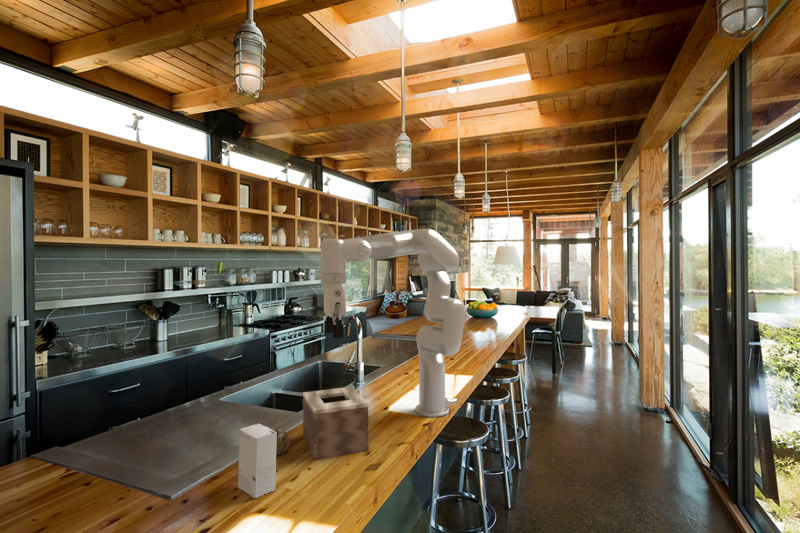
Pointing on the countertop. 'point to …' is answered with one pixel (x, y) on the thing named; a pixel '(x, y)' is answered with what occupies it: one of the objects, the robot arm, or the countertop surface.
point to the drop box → (335, 422)
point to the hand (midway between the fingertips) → (334, 335)
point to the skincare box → (257, 460)
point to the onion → (281, 441)
